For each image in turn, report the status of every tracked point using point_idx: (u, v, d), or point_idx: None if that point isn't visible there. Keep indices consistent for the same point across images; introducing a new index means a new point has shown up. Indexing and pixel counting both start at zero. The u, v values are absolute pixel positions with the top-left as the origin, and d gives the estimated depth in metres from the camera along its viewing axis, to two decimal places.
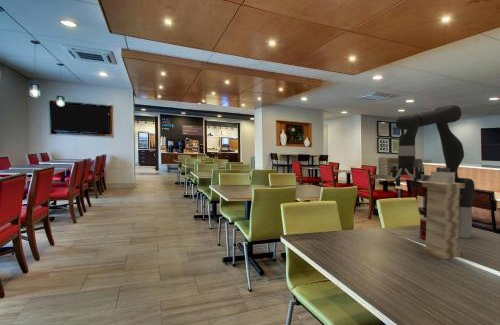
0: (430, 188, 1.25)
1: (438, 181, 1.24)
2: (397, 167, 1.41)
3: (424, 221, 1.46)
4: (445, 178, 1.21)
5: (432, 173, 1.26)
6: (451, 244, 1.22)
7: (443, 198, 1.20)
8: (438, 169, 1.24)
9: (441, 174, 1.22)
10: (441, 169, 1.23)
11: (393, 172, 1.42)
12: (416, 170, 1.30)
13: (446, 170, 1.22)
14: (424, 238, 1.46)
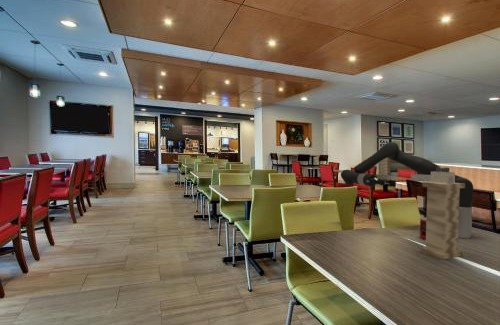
0: (430, 188, 1.25)
1: (438, 181, 1.24)
2: None
3: (424, 221, 1.46)
4: (445, 178, 1.21)
5: (432, 173, 1.26)
6: (451, 244, 1.22)
7: (443, 198, 1.20)
8: (438, 169, 1.24)
9: (441, 174, 1.22)
10: (441, 169, 1.23)
11: (387, 183, 1.60)
12: (368, 183, 1.57)
13: (446, 170, 1.22)
14: (424, 238, 1.46)
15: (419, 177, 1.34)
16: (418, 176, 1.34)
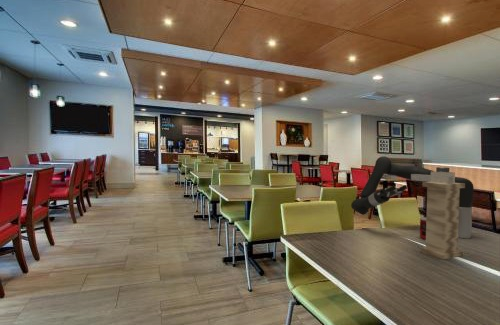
0: (430, 188, 1.25)
1: (438, 181, 1.24)
2: None
3: (424, 221, 1.46)
4: (445, 178, 1.21)
5: (432, 173, 1.26)
6: (451, 244, 1.22)
7: (443, 198, 1.20)
8: (438, 169, 1.24)
9: (441, 174, 1.22)
10: (441, 169, 1.23)
11: (399, 193, 1.53)
12: (380, 195, 1.49)
13: (446, 170, 1.22)
14: (424, 238, 1.46)
15: (419, 177, 1.34)
16: (418, 176, 1.34)
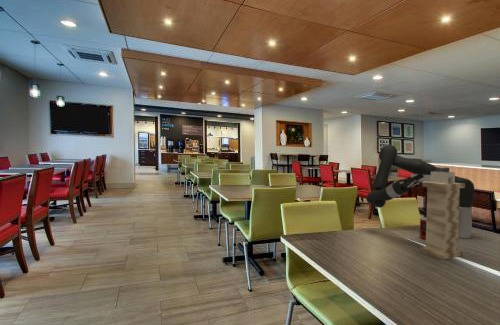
0: (430, 188, 1.25)
1: (438, 181, 1.24)
2: None
3: (424, 221, 1.46)
4: (445, 178, 1.21)
5: (432, 173, 1.26)
6: (451, 244, 1.22)
7: (443, 198, 1.20)
8: (438, 169, 1.24)
9: (441, 174, 1.22)
10: (441, 169, 1.23)
11: (420, 182, 1.40)
12: (403, 184, 1.37)
13: (446, 170, 1.22)
14: (424, 238, 1.46)
15: None
16: None
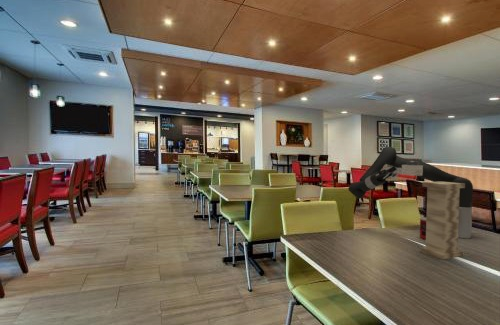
0: (430, 188, 1.25)
1: (407, 173, 1.37)
2: None
3: (424, 221, 1.46)
4: (413, 171, 1.35)
5: (403, 166, 1.40)
6: (451, 244, 1.22)
7: (443, 198, 1.20)
8: (408, 162, 1.38)
9: (410, 167, 1.36)
10: (410, 162, 1.37)
11: (395, 174, 1.53)
12: (379, 176, 1.51)
13: (415, 163, 1.36)
14: (424, 238, 1.46)
15: None
16: None
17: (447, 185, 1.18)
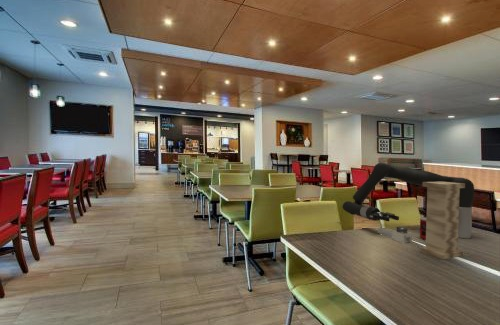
0: (430, 188, 1.25)
1: (397, 240, 1.43)
2: None
3: (424, 221, 1.46)
4: (403, 238, 1.40)
5: (393, 232, 1.46)
6: (451, 244, 1.22)
7: (443, 198, 1.20)
8: (398, 229, 1.44)
9: (400, 235, 1.42)
10: (400, 230, 1.42)
11: (390, 217, 1.58)
12: (372, 218, 1.55)
13: (404, 231, 1.42)
14: (424, 238, 1.46)
15: (383, 232, 1.53)
16: (383, 231, 1.53)
17: (447, 185, 1.18)
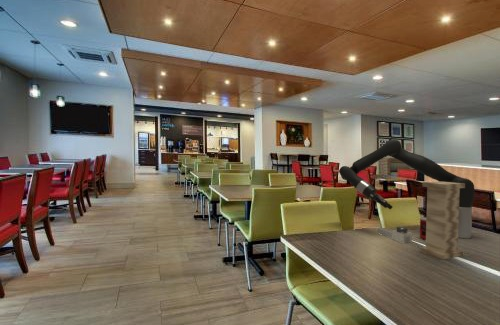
0: (430, 188, 1.25)
1: (397, 240, 1.43)
2: None
3: (424, 221, 1.46)
4: (403, 238, 1.40)
5: (393, 232, 1.46)
6: (451, 244, 1.22)
7: (443, 198, 1.20)
8: (398, 229, 1.44)
9: (400, 235, 1.42)
10: (400, 230, 1.42)
11: None
12: (371, 197, 1.53)
13: (404, 231, 1.42)
14: (424, 238, 1.46)
15: (383, 232, 1.53)
16: (383, 232, 1.53)
17: (447, 185, 1.18)
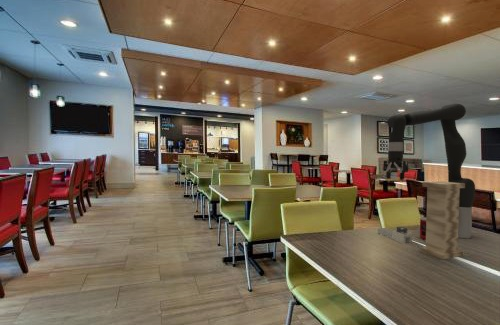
0: (430, 188, 1.25)
1: (397, 240, 1.43)
2: (387, 161, 1.57)
3: (424, 221, 1.46)
4: (403, 238, 1.40)
5: (393, 232, 1.46)
6: (451, 244, 1.22)
7: (443, 198, 1.20)
8: (398, 229, 1.44)
9: (400, 235, 1.42)
10: (400, 230, 1.42)
11: (384, 166, 1.58)
12: (404, 163, 1.46)
13: (404, 231, 1.42)
14: (424, 238, 1.46)
15: (383, 232, 1.53)
16: (383, 232, 1.53)
17: (447, 185, 1.18)
